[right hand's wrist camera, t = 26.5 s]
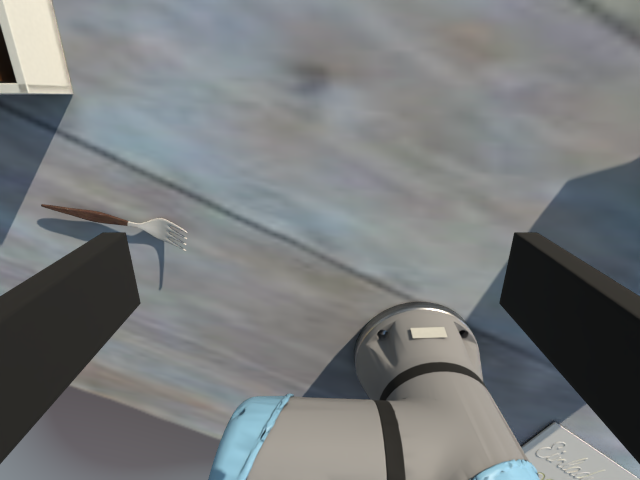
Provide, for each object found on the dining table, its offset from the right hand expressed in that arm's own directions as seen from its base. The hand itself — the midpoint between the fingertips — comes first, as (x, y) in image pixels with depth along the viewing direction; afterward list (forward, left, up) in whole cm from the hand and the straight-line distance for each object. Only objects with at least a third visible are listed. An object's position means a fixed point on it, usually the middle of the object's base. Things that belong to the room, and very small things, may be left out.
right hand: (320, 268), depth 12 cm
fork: (-7, +22, -27) cm, 35 cm away
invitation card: (-49, -37, -27) cm, 67 cm away
